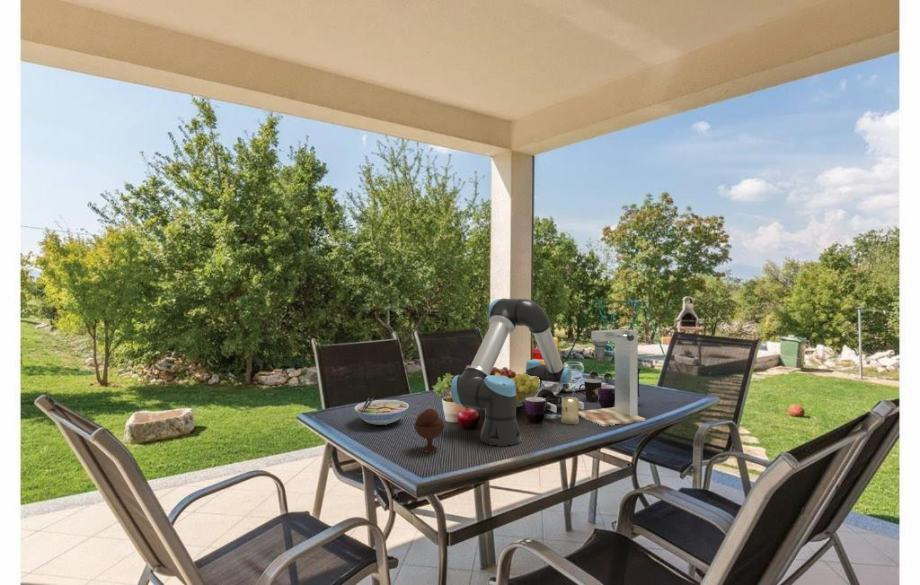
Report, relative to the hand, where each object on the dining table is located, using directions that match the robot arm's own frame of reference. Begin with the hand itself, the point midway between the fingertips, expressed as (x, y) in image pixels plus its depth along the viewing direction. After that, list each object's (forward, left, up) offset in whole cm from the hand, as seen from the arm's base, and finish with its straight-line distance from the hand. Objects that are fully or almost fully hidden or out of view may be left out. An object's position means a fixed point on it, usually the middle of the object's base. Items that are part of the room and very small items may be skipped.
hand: (569, 407), depth 198 cm
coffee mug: (+29, +27, -6) cm, 40 cm away
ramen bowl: (-76, +26, -6) cm, 80 cm away
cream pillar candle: (-1, -1, -6) cm, 6 cm away
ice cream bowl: (-66, -12, -6) cm, 67 cm away
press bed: (+19, -1, -6) cm, 20 cm away
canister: (+42, +14, -6) cm, 45 cm away
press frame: (+21, -4, -5) cm, 22 cm away
